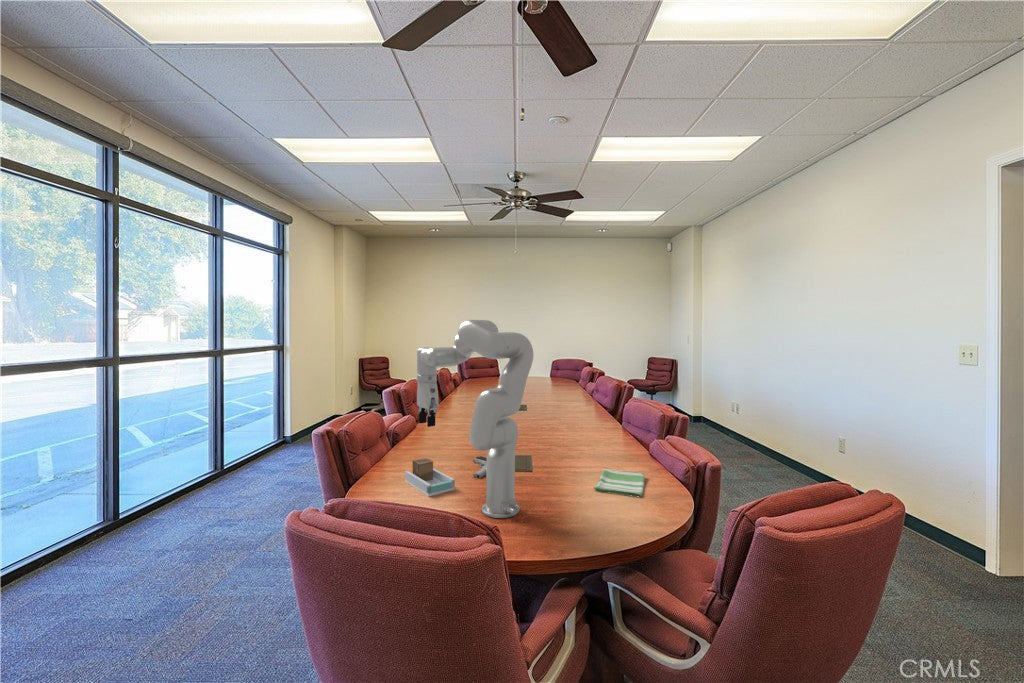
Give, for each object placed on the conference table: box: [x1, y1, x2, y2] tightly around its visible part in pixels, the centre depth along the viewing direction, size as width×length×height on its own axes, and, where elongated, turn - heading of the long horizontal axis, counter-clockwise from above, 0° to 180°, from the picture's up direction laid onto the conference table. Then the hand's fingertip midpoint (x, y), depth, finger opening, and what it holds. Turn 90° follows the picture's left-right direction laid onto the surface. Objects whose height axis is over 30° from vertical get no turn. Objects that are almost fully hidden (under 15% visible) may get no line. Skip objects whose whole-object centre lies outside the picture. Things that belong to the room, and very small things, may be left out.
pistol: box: [473, 455, 487, 479], centre depth 192 cm, size 23×3×14 cm
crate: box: [411, 457, 434, 481], centre depth 175 cm, size 6×6×7 cm
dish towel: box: [593, 468, 646, 498], centre depth 173 cm, size 18×23×3 cm
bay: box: [404, 467, 456, 497], centre depth 170 cm, size 20×11×4 cm, turn 38°
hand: (426, 424), depth 172 cm, fingers open, 6 cm apart
